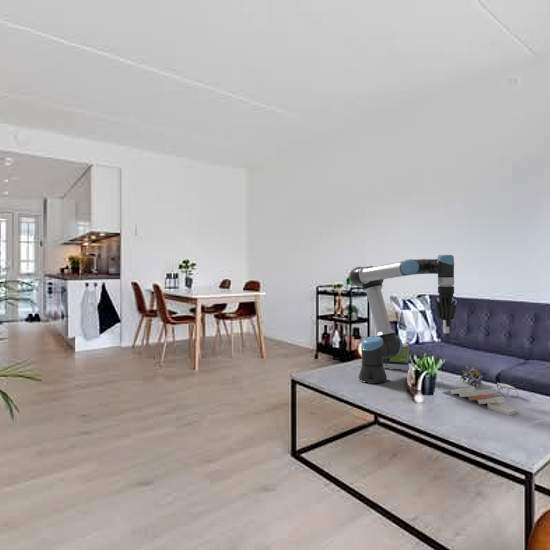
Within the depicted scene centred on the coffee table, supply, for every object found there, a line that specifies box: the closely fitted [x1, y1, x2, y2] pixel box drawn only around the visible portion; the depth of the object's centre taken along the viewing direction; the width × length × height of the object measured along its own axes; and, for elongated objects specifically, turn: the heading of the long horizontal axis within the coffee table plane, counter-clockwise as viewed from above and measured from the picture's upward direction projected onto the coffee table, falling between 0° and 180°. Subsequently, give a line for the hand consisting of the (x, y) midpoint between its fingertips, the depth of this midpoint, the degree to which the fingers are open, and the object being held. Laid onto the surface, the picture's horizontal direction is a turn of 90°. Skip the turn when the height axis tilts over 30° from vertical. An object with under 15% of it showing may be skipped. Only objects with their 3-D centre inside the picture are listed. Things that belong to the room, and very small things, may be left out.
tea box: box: [383, 343, 410, 371], centre depth 246 cm, size 15×10×15 cm, turn 66°
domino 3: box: [468, 392, 495, 401], centre depth 183 cm, size 2×5×10 cm
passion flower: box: [460, 365, 483, 388], centre depth 211 cm, size 11×11×12 cm
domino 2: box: [459, 389, 485, 397], centre depth 188 cm, size 2×5×10 cm
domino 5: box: [488, 402, 518, 416], centre depth 173 cm, size 2×5×10 cm
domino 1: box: [449, 386, 476, 394], centre depth 192 cm, size 2×5×10 cm
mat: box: [441, 390, 490, 410], centre depth 188 cm, size 25×10×1 cm, turn 24°
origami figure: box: [496, 382, 520, 399], centre depth 192 cm, size 12×8×5 cm
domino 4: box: [478, 396, 506, 404], centre depth 178 cm, size 2×5×10 cm
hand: (446, 332), depth 200 cm, fingers closed
